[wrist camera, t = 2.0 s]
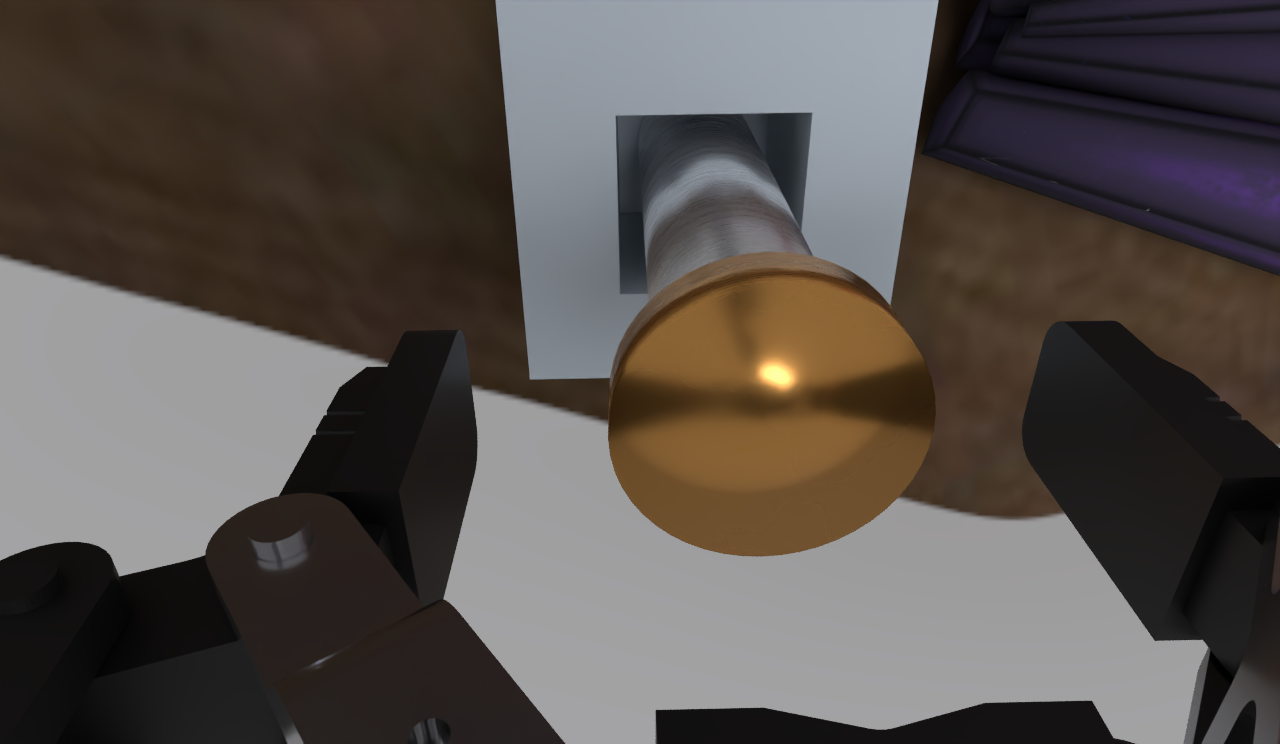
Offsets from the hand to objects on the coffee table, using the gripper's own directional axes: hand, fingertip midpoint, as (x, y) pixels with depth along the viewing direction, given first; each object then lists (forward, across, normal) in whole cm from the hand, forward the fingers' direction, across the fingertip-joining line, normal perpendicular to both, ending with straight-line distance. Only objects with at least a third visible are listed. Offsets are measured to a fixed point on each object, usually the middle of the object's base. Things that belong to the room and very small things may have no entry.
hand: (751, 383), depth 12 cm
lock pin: (+12, 0, 0) cm, 12 cm away
